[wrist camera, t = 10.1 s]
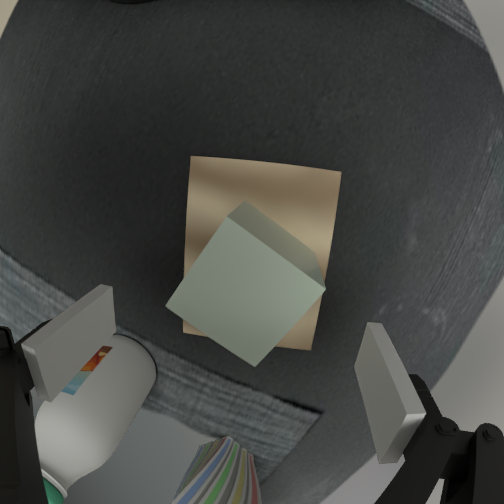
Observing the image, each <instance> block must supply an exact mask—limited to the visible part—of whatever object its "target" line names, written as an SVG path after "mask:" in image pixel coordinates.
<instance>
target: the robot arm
mask: <svg viewBox="0 0 504 504" xmlns="http://www.w3.org/2000/svg"><path fill="white" fill-rule="evenodd" d="M112 1H115V2H119V3H140V2H146V1H151V0H112ZM115 332H116V325H115V314H114V303H113V289H112V286H107V285H102V284H100V285H99V286H97V287H96V288H95V289H93V290H92V291H90V292H89V293H88V294H86V295H85V296H84V297H82V298H81V299H79V300H78V301H77V302H75V303H74V304H73V305H71V306H70V307H69V308H67V309H66V310H65V311H63V312H62V313H61V314H59V315H58V316H57V317H55V318H54V319H51V320H48V321H45V322H43V323H41V324H40V325H39V326H37V327H36V329H33V330H32V331H31V332H30V333H28V334H27V335H26V336H24V337H23V338H22V339H20V340H19V341H18V342H16V343H15V344H14V340H13V336H12V332H11V330H10V329H9V328H8V327H5V326H0V504H49V502H48V498H47V494H46V490H45V486H44V481H43V476H42V471H41V466H40V460H39V454H38V448H37V441H36V434H35V425H34V416H33V405H32V396H31V393H30V390H31V389H32V388H33V387H35V389H36V392H37V395H38V397H40V398H42V399H44V400H46V401H48V402H50V403H51V402H52V401H53V400H54V399H55V398H56V397H57V395H58V394H59V393H60V392H61V391H62V390H63V389H64V388H65V386H66V385H67V384H68V383H69V382H70V381H71V380H72V379H73V378H74V376H75V375H76V374H77V373H78V372H79V371H80V370H81V369H82V368H83V367H84V365H85V364H86V363H87V362H88V361H89V360H90V359H91V358H92V357H93V356H94V355H95V354H96V352H97V351H98V350H99V349H100V348H101V347H102V346H103V345H104V344H105V343H106V342H107V341H108V340H109V339H110V337H111V336H112V335H113V334H114V333H115ZM354 369H355V372H356V376H357V379H358V383H359V386H360V390H361V394H362V398H363V401H364V405H365V409H366V413H367V417H368V420H369V424H370V428H371V432H372V436H373V441H374V445H375V449H376V453H377V457H378V462H379V464H384V463H397V462H398V460H399V458H400V457H401V455H402V454H404V457H405V462H404V464H403V465H402V467H401V468H400V470H399V471H398V472H397V474H396V476H395V477H394V478H393V480H392V481H391V482H390V484H389V485H388V486H387V488H386V489H385V491H384V492H383V493H382V494H381V496H380V497H379V498H378V500H377V501H376V502H375V503H374V504H425V503H426V502H427V500H428V498H429V496H430V495H431V493H432V491H433V489H434V487H435V485H436V483H437V482H438V479H439V478H440V479H444V485H443V490H442V495H441V500H440V504H504V436H503V433H502V431H501V430H500V429H499V428H498V427H497V426H495V425H492V424H490V423H484V424H481V425H480V426H479V427H478V428H477V429H476V431H475V432H468V431H461V430H459V427H458V425H457V424H456V423H455V422H454V421H452V420H451V419H449V418H446V417H442V415H441V413H440V411H439V409H438V407H437V405H436V403H435V401H434V399H433V397H431V393H430V391H428V388H427V386H426V384H425V382H424V381H423V380H422V379H421V378H420V377H419V376H418V375H417V374H407V372H406V370H405V368H404V366H403V364H402V362H401V360H400V358H399V356H398V354H397V352H396V350H395V348H394V346H393V344H392V342H391V340H390V338H389V336H388V335H387V333H386V331H385V329H384V327H383V325H382V323H372V322H367V325H366V329H365V333H364V336H363V340H362V343H361V346H360V350H359V353H358V356H357V360H356V363H355V366H354Z"/></svg>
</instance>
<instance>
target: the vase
mask: <svg viewBox="0 0 504 504" xmlns="http://www.w3.org/2000/svg"><path fill="white" fill-rule="evenodd" d="M171 504H261V493H260V487H259V482H258V477H257V473H256V469H255V465H254V456H253V455H252V454H251V453H250V452H247V450H246V449H245V448H243V447H241V446H240V444H239V443H237V442H236V441H234V439H232V438H231V437H230V436H229V435H228V436H225V437H223V438H222V439H221V438H220V439H217V440H215V441H214V442H209V443H207V444H204V445H201V446H199V449H198V451H197V454H196V455H195V457H194V459H193V461H192V463H191V464H190V466H189V468H188V470H187V471H186V473H185V475H184V477H183V479H182V481H181V483H180V485H179V487H178V490H177V492H176V495H175V497H174V500H173V502H172V503H171Z"/></svg>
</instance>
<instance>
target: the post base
mask: <svg viewBox="0 0 504 504" xmlns="http://www.w3.org/2000/svg"><path fill="white" fill-rule="evenodd" d="M340 179H341V172H338V171H332V170H325V169H318V168H311V167H303V166H295V165H287V164H279V163H270V162H260V161H250V160H239V159H227V158H214V157H199V156H191V161H190V173H189V186H188V201H187V217H186V236H185V260H184V277H185V276H186V274H187V273H188V271H189V270H190V268H191V267H192V266H193V264H194V263H195V261H196V260H197V258H198V257H199V255H200V254H201V252H202V251H203V250H204V248H205V247H206V245H207V244H208V242H209V241H210V239H211V238H212V237H213V235H214V234H215V232H216V231H217V229H218V228H219V227H220V225H221V224H222V222H223V221H224V220H225V218H226V217H227V216H228V215H229V214H230V213H231V212H232V211H233V210H234V209H236V208H237V207H238V206H239V205H240V204H241V203H242V202H243V201H247V202H248V203H249V204H251V205H252V206H254V207H255V208H256V209H258V210H259V211H260V212H262V213H263V214H264V215H266V216H267V217H269V218H270V219H271V220H273V221H274V222H275V223H277V224H278V225H279V226H281V227H282V228H283V229H285V230H286V231H287V232H289V233H290V234H291V235H293V236H294V237H295V238H297V239H298V240H299V241H301V242H302V243H303V244H305V245H306V246H307V247H309V248H310V249H311V250H313V251H314V252H315V255H316V258H317V261H318V264H319V267H320V271H321V274H322V277H323V281H324V282H325V277H326V271H327V266H328V260H329V254H330V248H331V242H332V236H333V229H334V223H335V216H336V209H337V202H338V194H339V187H340ZM321 298H322V295H321V296H320V297H319V298H318V299H317V300H316V302H315V303H314V304H313V305H312V306H311V307H310V308H309V309H308V311H307V312H306V313H305V314H304V315H303V316H302V317H301V318H300V320H299V321H298V322H297V323H296V324H295V325H294V326H293V327H292V328H291V329H290V330H289V332H288V333H287V334H286V335H285V336H284V337H283V338H282V339H281V340H280V341H279V342H278V343H277V344H276V347H284V348H293V349H302V350H311V346H312V342H313V337H314V332H315V328H316V323H317V318H318V313H319V308H320V303H321ZM183 333H189V334H195V335H200V336H206V337H208V336H207V335H205V334H204V333H202V332H201V331H199V330H198V329H197V328H195V327H194V326H192V325H191V324H189V323H188V322H186V321H185V320H184V319H183Z"/></svg>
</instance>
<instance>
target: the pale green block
mask: <svg viewBox="0 0 504 504" xmlns="http://www.w3.org/2000/svg"><path fill="white" fill-rule="evenodd" d="M325 290H326V287H325V284H324V281H323V277H322V274H321V271H320V267H319V264H318V261H317V258H316V255H315V252H314V251H313V250H311V249H310V248H309V247H307V246H306V245H305V244H303V243H302V242H301V241H299V240H298V239H297V238H295V237H294V236H293V235H291V234H290V233H289V232H287V231H286V230H285V229H283V228H282V227H281V226H279V225H278V224H277V223H275V222H274V221H273V220H271V219H270V218H269V217H267V216H266V215H264V214H263V213H262V212H260V211H259V210H258V209H256V208H255V207H254V206H252V205H251V204H249V203H248V202H247V201H243V202H242V203H241V204H240V205H239V206H238V207H237V208H236V209H234V210H233V211H232V212H231V213H230V214H229V215H228V216H227V217H226V218H225V220H224V221H223V222H222V224H221V225H220V227H219V228H218V229H217V231H216V232H215V234H214V235H213V237H212V238H211V239H210V241H209V242H208V244H207V245H206V247H205V248H204V250H203V251H202V252H201V254H200V255H199V257H198V258H197V260H196V261H195V263H194V264H193V266H192V267H191V268H190V270H189V271H188V273H187V274H186V276H185V277H184V279H183V280H182V282H181V283H180V285H179V286H178V288H177V289H176V291H175V292H174V294H173V295H172V297H171V298H170V300H169V301H168V303H167V304H166V307H167V308H168V309H170V310H171V311H172V312H174V313H175V314H177V315H178V316H179V317H181V318H182V319H184V320H185V321H186V322H188V323H189V324H191V325H192V326H194V327H195V328H197V329H198V330H199V331H201V332H202V333H204V334H205V335H207V336H208V337H210V338H211V339H213V340H214V341H216V342H217V343H219V344H220V345H222V346H223V347H225V348H226V349H228V350H229V351H231V352H232V353H234V354H235V355H237V356H238V357H240V358H242V359H243V360H245V361H246V362H248V363H249V364H251V365H253V366H254V367H255V366H256V365H257V364H258V363H259V362H260V361H261V360H262V359H263V358H264V357H265V356H266V355H267V354H268V353H269V352H270V351H271V350H272V349H273V348H274V347H275V346H276V344H277V343H278V342H279V341H280V340H281V339H282V338H283V337H284V336H285V335H286V334H287V333H288V332H289V330H290V329H291V328H292V327H293V326H294V325H295V324H296V323H297V322H298V321H299V320H300V318H301V317H302V316H303V315H304V314H305V313H306V312H307V311H308V309H309V308H310V307H311V306H312V305H313V304H314V303H315V302H316V300H317V299H318V298H319V297H320V296H321V295H322V294H323V292H324V291H325Z"/></svg>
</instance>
